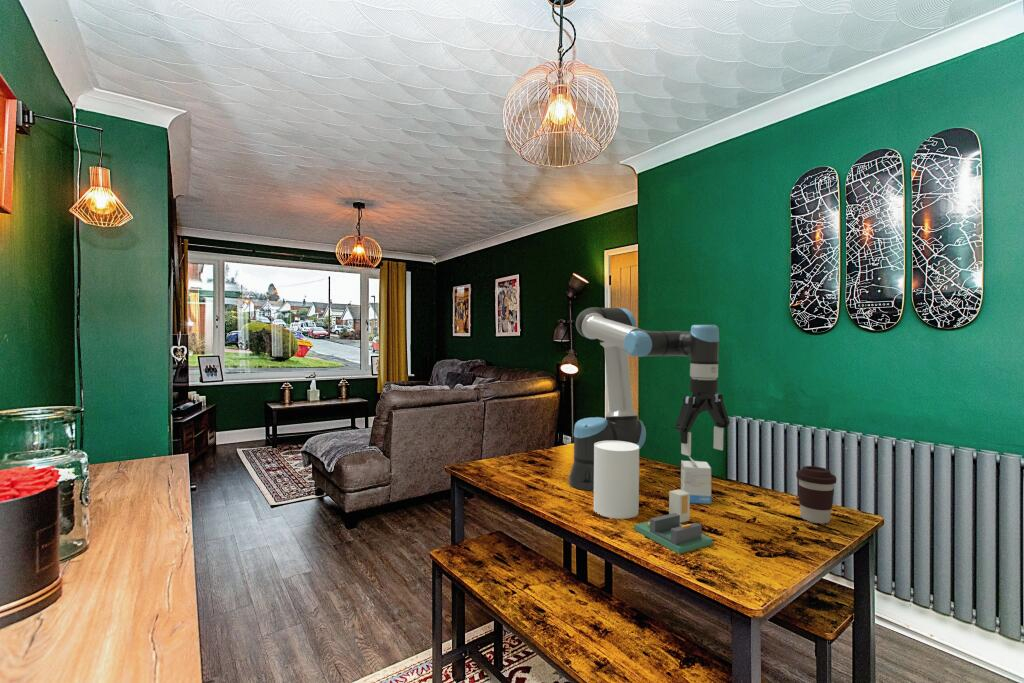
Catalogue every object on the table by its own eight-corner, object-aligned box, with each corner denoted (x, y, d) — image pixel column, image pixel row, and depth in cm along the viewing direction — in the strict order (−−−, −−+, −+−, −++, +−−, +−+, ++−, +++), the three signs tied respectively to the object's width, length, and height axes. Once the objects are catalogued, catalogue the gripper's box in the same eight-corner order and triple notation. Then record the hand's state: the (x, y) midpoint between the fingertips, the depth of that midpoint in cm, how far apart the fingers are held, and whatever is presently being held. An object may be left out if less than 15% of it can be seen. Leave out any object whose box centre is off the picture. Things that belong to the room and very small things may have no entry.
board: (634, 529, 132) (634, 510, 132) (666, 522, 137) (666, 503, 137) (679, 554, 117) (679, 532, 117) (712, 544, 123) (713, 523, 123)
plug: (669, 518, 140) (669, 491, 140) (678, 515, 142) (679, 489, 142) (679, 523, 137) (680, 495, 136) (689, 520, 138) (690, 493, 138)
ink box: (711, 504, 152) (712, 463, 151) (684, 502, 153) (684, 461, 153) (706, 495, 160) (706, 456, 160) (680, 493, 162) (680, 454, 161)
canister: (584, 507, 149) (585, 443, 148) (616, 499, 156) (617, 438, 155) (614, 522, 137) (615, 453, 137) (648, 513, 144) (648, 447, 144)
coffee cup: (822, 528, 133) (823, 475, 133) (788, 516, 142) (789, 466, 142) (842, 522, 138) (843, 471, 138) (808, 511, 147) (809, 462, 146)
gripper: (683, 381, 127) (682, 460, 128) (743, 377, 139) (742, 449, 140) (662, 379, 134) (661, 453, 134) (721, 375, 146) (720, 444, 146)
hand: (702, 452), depth 137 cm, fingers open, 13 cm apart
